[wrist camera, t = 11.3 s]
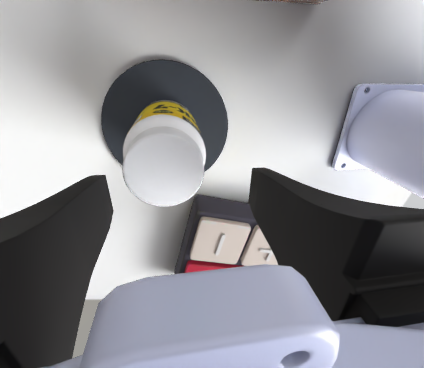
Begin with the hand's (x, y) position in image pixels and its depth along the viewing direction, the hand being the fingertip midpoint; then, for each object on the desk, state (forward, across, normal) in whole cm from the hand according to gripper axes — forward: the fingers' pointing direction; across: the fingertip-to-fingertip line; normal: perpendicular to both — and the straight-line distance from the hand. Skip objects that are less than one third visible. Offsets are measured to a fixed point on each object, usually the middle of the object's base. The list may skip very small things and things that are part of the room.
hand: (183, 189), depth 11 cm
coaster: (+9, +1, -1) cm, 9 cm away
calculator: (+9, -7, +13) cm, 17 cm away
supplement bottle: (+9, +1, -1) cm, 9 cm away
